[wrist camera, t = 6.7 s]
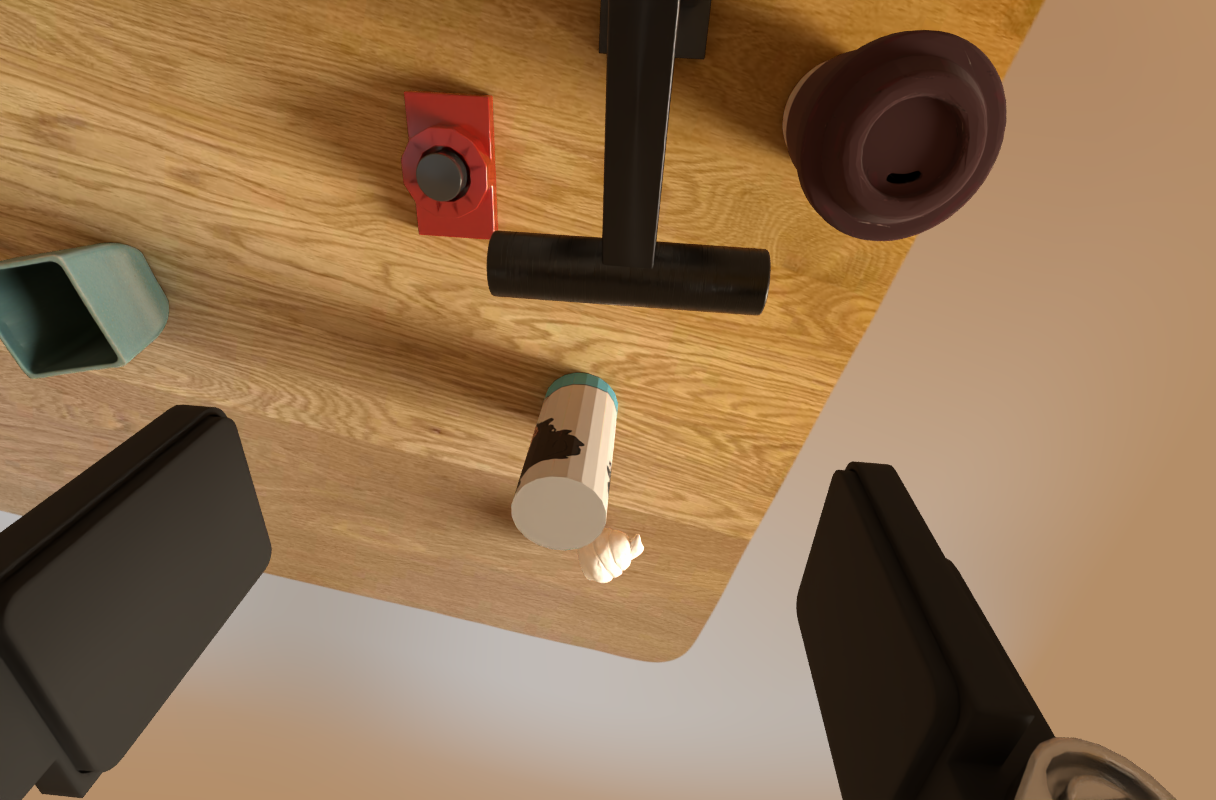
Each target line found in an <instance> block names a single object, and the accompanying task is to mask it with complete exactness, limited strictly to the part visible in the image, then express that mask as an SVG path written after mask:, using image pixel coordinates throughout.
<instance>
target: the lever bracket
mask: <svg viewBox="0 0 1216 800" xmlns="http://www.w3.org/2000/svg"><path fill="white" fill-rule="evenodd" d="M710 7H711V0H680V10H679V20H678V30H677V40H676V50H675V58H687V59H704V58H705V51H706V42H707V33H708V25H709V16H710ZM607 36H608V0H601V7H600V34H599V53H604V54H607Z"/></svg>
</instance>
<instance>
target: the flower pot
mask: <svg viewBox="0 0 1216 800" xmlns="http://www.w3.org/2000/svg"><path fill="white" fill-rule="evenodd" d="M168 314H169V302H168V300H167V298H166V296H165V294H164V292H163V290H162V289H161V287H160V285H159V283H158V282H157V280H156V278H155V276H154V274H153V273H152V271H151V269H150V267H149V265H148V263H147V261H146V259H145V258H144V256H143V254H142V253H141V252H140V251H139V250H138V249H136V248H134V247H131V246H129V245H125V244H121V243H99V244H93V245H88V246H82V247H77V248H71V249H65V250H59V251H53V252H47V253H41V254H35V255H28V256H22V257H16V258H12V259H7V260H3V261H0V339H1V341H2V342H3V344H4V345H5V346H6V348H7V350H8V351H9V352H10V354H11V355H12V357H13V358H14V359H15V361H16V362H17V364H18V365H19V367H20V368H21V369H22V371H23V372H24V373H25V374H26V375H27V376H28V377H29V378H31V379H38V378H39V379H40V378H45V377H51V376H57V375H63V374H70V373H77V372H85V371H92V370H100V369H108V368H118V367H122V366H124V365H126V364H127V363H128V362H129V361H131V360H132V359H133V358H134V357H135V356H136V355H138V354H139V353H140V352H141V351H142V350H143V349H145V348H146V347H147V346H148V345H149V344H150V343H151V342H153V341H154V340H155V339H156V338H157V337H158V336H159V335H160V333H161V332H162V330H163V329H164V327H165V325H166V323H167V320H168Z"/></svg>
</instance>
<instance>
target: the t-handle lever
mask: <svg viewBox="0 0 1216 800" xmlns="http://www.w3.org/2000/svg"><path fill="white" fill-rule="evenodd" d="M679 10H680V0H608V36H607V75H606V114H605V154H604V193H603V233H602V238H598V237H584V236H569V235H555V234H541V233H526V232H512V231H498V230H497V231H494V232H493V233H492V236H491V238H490V241H489V246H488V253H487V280H488V286H489V290H490V292H491V294H492V295H493V296H498V297H512V298H525V299H539V300H553V301H566V302H580V303H593V304H607V305H621V306H634V307H648V308H662V309H675V310H689V311H703V312H716V313H730V314H744V315H760V314H761V313H762V311H763V309H764V306H765V303H766V300H767V296H768V290H769V284H770V271H771V263H770V255H769V252H768V251H767V250H766V249H756V248H741V247H727V246H713V245H698V244H684V243H670V242H656V239H657V229H658V219H659V209H660V199H661V189H662V179H663V169H664V160H665V150H666V140H667V130H668V120H669V110H670V100H671V90H672V80H673V70H674V60H675V50H676V40H677V30H678V20H679Z"/></svg>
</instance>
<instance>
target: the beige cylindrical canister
mask: <svg viewBox="0 0 1216 800" xmlns="http://www.w3.org/2000/svg"><path fill="white" fill-rule="evenodd" d="M617 407H618V402H617V399H616V396H615V393H614V391H613V390H612V389H611V387H610V386H609V385H608V384H607V383H606V382H604V381H603V380H602V379H600V378H599V377H596V376H593V375H591V374H588V373H572V374H567V375H564V376H562V377H560V378H559V379H557V380H555V381H554V382H553V384H552V385H551V386H550V387H549V388H548V390H547V393H546V396H545V399H544V402H543V405H542V408H541V411H540V415H539V418H538V421H537V424H536V428H535V431H534V434H533V437H532V440H531V444H530V447H529V450H528V453H527V457H526V460H525V463H524V466H523V469H522V473H521V476H520V479H519V482H518V486H517V489H516V492H515V495H514V498H513V502H512V505H511V508H512V518H513V520H514V523H515V525H516V527H517V529H518V530H519V531H520V532H521V533H522V534H523V535H524V536H525V537H526V538H527V539H529V540H531V541H532V542H534V543H536V544H537V545H540V546H543V547H546V548H549V549H555V550H571V549H578V548H581V547H583V546H586V545H588V544H590V543H592V542H593V541H594V540H595V539H596V538H597V537H598V536H600V535H601V533H602V531H603V529H604V527H605V525H606V517H607V507H608V497H609V488H610V478H611V468H612V458H613V449H614V439H615V429H616V419H617Z"/></svg>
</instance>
